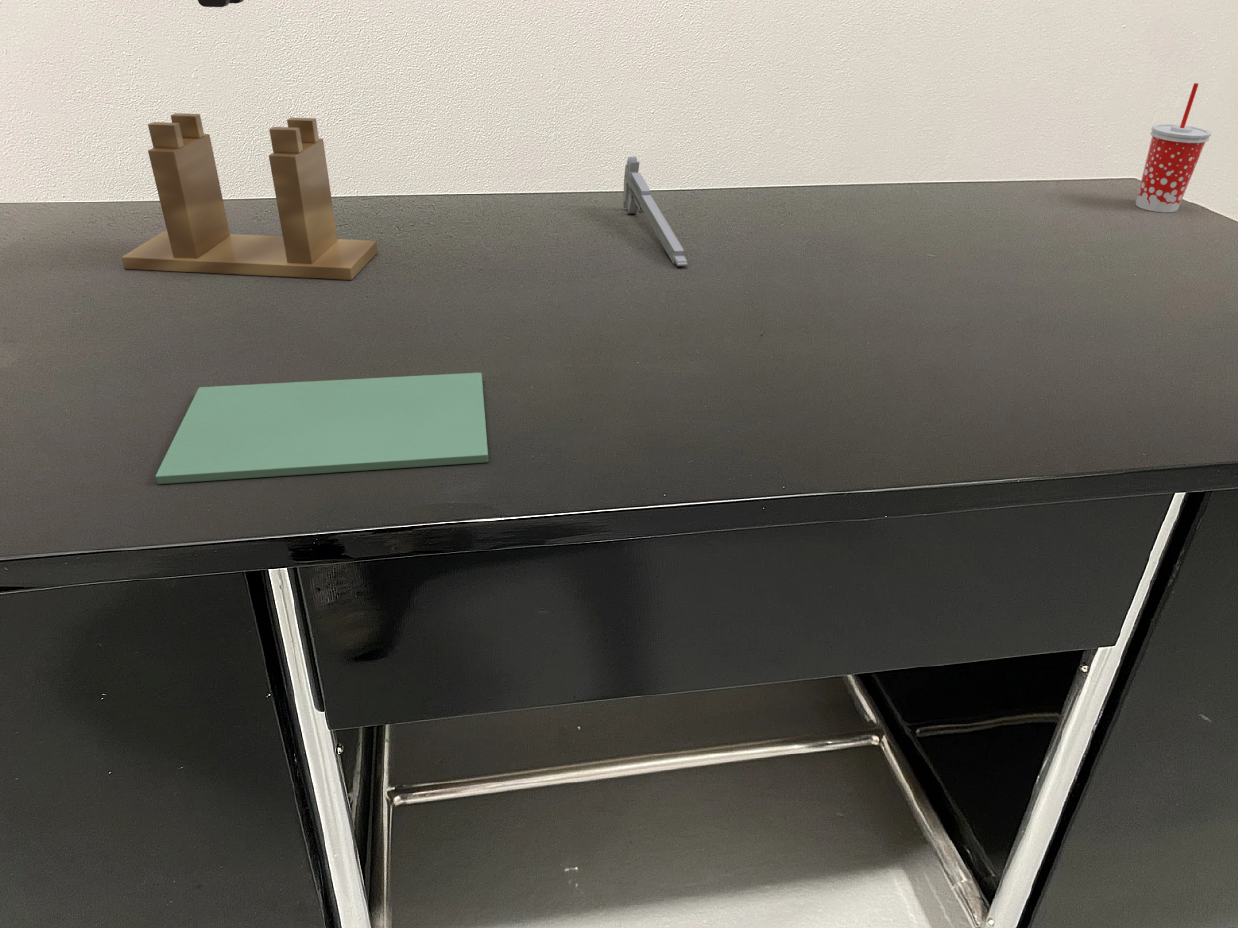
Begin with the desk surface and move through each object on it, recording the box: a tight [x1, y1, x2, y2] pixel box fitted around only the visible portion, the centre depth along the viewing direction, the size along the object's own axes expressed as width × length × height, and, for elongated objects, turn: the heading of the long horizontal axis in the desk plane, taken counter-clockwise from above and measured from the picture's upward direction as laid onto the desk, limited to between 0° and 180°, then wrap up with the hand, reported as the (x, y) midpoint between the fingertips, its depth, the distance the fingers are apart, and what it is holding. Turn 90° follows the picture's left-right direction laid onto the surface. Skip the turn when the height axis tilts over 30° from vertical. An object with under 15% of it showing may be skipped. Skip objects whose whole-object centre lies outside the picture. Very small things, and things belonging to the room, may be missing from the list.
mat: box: [155, 372, 489, 485], centre depth 63 cm, size 20×12×1 cm, turn 99°
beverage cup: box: [1135, 82, 1212, 213], centre depth 109 cm, size 6×6×14 cm
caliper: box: [622, 156, 688, 267], centre depth 98 cm, size 20×1×6 cm, turn 15°
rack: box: [121, 112, 379, 281], centre depth 87 cm, size 22×8×13 cm, turn 85°
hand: (222, 3), depth 72 cm, fingers closed
